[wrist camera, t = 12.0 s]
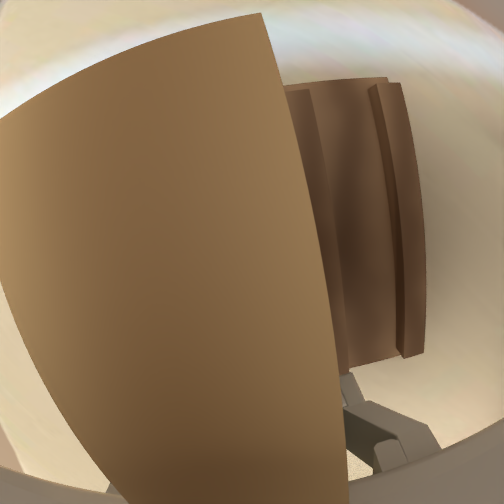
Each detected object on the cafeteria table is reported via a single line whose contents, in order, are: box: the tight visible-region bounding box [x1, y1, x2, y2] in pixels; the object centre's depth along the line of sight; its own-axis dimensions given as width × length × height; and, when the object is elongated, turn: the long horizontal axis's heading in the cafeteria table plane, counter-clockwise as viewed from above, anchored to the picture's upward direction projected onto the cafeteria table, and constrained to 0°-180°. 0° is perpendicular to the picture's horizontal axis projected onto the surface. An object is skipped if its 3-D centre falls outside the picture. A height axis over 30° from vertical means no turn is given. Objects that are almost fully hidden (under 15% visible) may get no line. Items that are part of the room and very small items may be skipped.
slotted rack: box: [283, 77, 426, 375], centre depth 23 cm, size 23×24×4 cm
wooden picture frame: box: [0, 13, 349, 504], centre depth 9 cm, size 3×16×12 cm, turn 13°
